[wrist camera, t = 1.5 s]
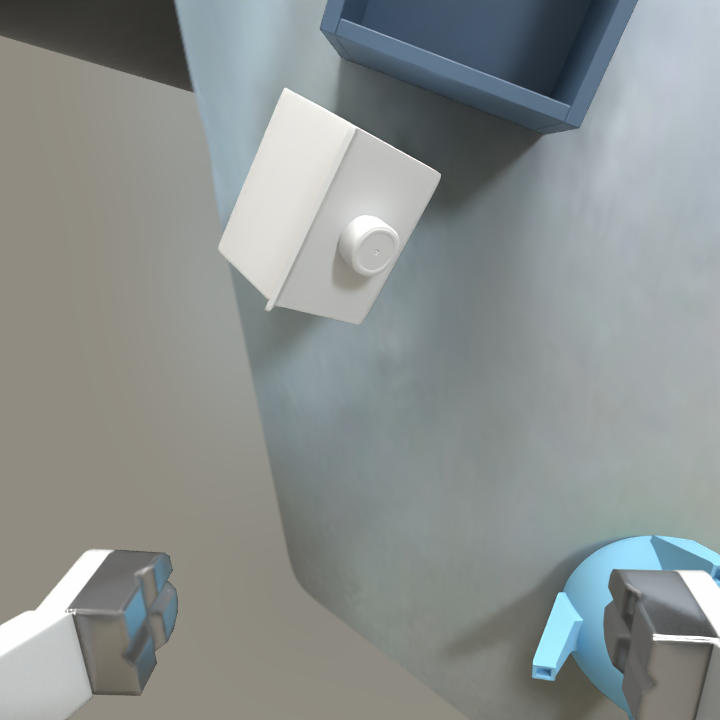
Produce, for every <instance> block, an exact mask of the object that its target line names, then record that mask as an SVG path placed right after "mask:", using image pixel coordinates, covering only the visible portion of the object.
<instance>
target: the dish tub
mask: <svg viewBox="0 0 720 720" xmlns="http://www.w3.org/2000/svg"><path fill="white" fill-rule="evenodd" d="M637 1H638V0H328V1H327V5H326V8H325V12H324V16H323V19H322V23H321V26H320V30H321V31H322V33H323V34H324V35H325V37H326V38H327V39H328V41H329V42H330V43H331V45H332V46H333V47H334V49H335V50H336V51H337V52H338V54H339V55H340V56H341V58H344V59H347V60H349V61H352V62H355V63H357V64H360V65H362V66H365V67H368V68H370V69H373V70H376V71H378V72H381V73H383V74H386V75H389V76H391V77H394V78H397V79H399V80H402V81H404V82H407V83H410V84H412V85H415V86H418V87H420V88H423V89H425V90H428V91H431V92H433V93H436V94H439V95H441V96H444V97H447V98H449V99H452V100H454V101H457V102H460V103H462V104H465V105H468V106H470V107H473V108H475V109H478V110H481V111H483V112H486V113H489V114H491V115H494V116H496V117H499V118H502V119H504V120H507V121H510V122H512V123H515V124H517V125H520V126H523V127H525V128H528V129H531V130H533V131H536V132H538V133H541V134H551V133H556V132H562V131H567V130H572V129H578V128H580V126H581V123H582V121H583V119H584V117H585V115H586V113H587V110H588V108H589V106H590V104H591V102H592V99H593V97H594V95H595V93H596V91H597V88H598V86H599V84H600V82H601V80H602V78H603V75H604V73H605V71H606V69H607V67H608V64H609V62H610V60H611V58H612V56H613V54H614V51H615V49H616V47H617V45H618V43H619V40H620V38H621V36H622V34H623V32H624V29H625V27H626V25H627V23H628V21H629V19H630V16H631V14H632V12H633V10H634V8H635V5H636V3H637Z"/></svg>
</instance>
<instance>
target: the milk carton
mask: <svg viewBox="0 0 720 720" xmlns="http://www.w3.org/2000/svg"><path fill="white" fill-rule="evenodd" d="M440 178H441V174H440V173H438V172H437V171H435V170H434V169H432V168H431V167H429V166H427V165H425V164H424V163H422V162H420V161H418V160H416V159H415V158H413V157H411V156H409V155H407V154H406V153H404V152H402V151H400V150H398V149H397V148H395V147H393V146H391V145H389V144H388V143H386V142H384V141H382V140H380V139H379V138H377V137H375V136H373V135H371V134H370V133H368V132H366V131H364V130H362V129H361V128H359V127H357V126H355V125H353V124H352V123H350V122H348V121H346V120H344V119H343V118H341V117H339V116H337V115H335V114H333V113H332V112H330V111H328V110H326V109H324V108H322V107H320V106H319V105H317V104H315V103H313V102H311V101H309V100H307V99H306V98H304V97H302V96H300V95H298V94H296V93H294V92H292V91H291V90H289V89H287V88H285V89H284V90H283V92H282V94H281V96H280V99H279V101H278V103H277V106H276V108H275V111H274V113H273V115H272V118H271V120H270V123H269V125H268V127H267V130H266V132H265V135H264V137H263V139H262V142H261V144H260V147H259V149H258V151H257V154H256V156H255V159H254V161H253V163H252V166H251V168H250V171H249V173H248V176H247V178H246V180H245V183H244V185H243V188H242V190H241V192H240V195H239V197H238V200H237V202H236V204H235V207H234V209H233V212H232V214H231V216H230V219H229V221H228V224H227V226H226V229H225V231H224V233H223V236H222V238H221V241H220V244H219V246H218V251H219V252H220V253H221V254H222V255H223V256H224V257H225V258H226V259H227V260H228V261H229V262H230V263H231V264H232V265H233V266H234V267H235V268H236V269H237V270H238V271H239V272H240V273H241V274H242V275H243V276H244V277H245V278H246V279H247V280H248V281H249V282H250V283H251V284H252V285H253V286H254V287H255V288H256V289H258V290H259V291H260V292H261V293H262V294H263V295H264V296H265V297H266V298H267V299H268V300H269V301H268V303H267V305H266V308H265V310H266V311H268V312H270V311H271V310H272V308H273V307H274V306H279V307H284V308H288V309H292V310H297V311H301V312H305V313H310V314H314V315H318V316H323V317H327V318H331V319H336V320H340V321H344V322H348V323H353V324H358V325H359V324H361V323H362V322H363V320H364V319H365V318H366V316H367V314H368V313H369V311H370V309H371V307H372V306H373V304H374V302H375V300H376V298H377V296H378V295H379V293H380V291H381V289H382V287H383V285H384V284H385V282H386V280H387V278H388V276H389V274H390V273H391V271H392V269H393V267H394V265H395V263H396V262H397V260H398V258H399V256H400V254H401V252H402V251H403V249H404V247H405V245H406V243H407V241H408V239H409V238H410V236H411V234H412V232H413V230H414V228H415V227H416V225H417V223H418V221H419V219H420V217H421V216H422V214H423V212H424V210H425V208H426V206H427V204H428V203H429V201H430V199H431V197H432V195H433V193H434V191H435V189H436V187H437V185H438V183H439V181H440Z"/></svg>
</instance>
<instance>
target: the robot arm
mask: <svg viewBox="0 0 720 720" xmlns="http://www.w3.org/2000/svg"><path fill="white" fill-rule="evenodd" d="M172 571H173V569H172V564H171V560H170V556H169V555H167V554H165V553H161V552H159V553H158V552H144V551H143V552H142V551H127V550H103V549H90V550H88V551H86V552H84V553H83V554H82V556H81V557H80V558H79V559H78V560H77V561H76V563H75V564H74V565H73V566H72V567H71V568H70V570H69V571H68V572H67V573H66V575H65V576H64V577H63V578H62V579H61V581H60V582H59V583H58V584H57V585H56V586H55V588H54V589H53V590H52V591H51V592H50V594H49V595H48V596H47V597H46V598H45V600H44V601H43V602H42V603H41V604H40V606H39V607H38V608H37V609H36V610H35V611H26V612H24V613H22V614H20V615H18V616H16V617H15V618H13V619H11V620H9V621H7V622H5V623H4V624H2V625H0V720H68V719H69V718H70V717H71V716H72V715H73V714H74V713H76V712H77V711H78V710H79V709H80V708H81V707H83V706H84V705H85V704H86V703H87V702H88V701H89V700H91V698H93V694H96V695H97V694H98V695H99V694H100V695H131V696H140V695H141V693H142V691H143V689H144V687H145V685H146V683H147V681H148V679H149V678H150V676H151V674H152V672H153V670H154V668H155V666H156V664H157V661H156V656H155V651H156V650H158V649H159V648H160V647H162V646H163V645H165V644H166V643H167V642H168V640H169V638H170V636H171V634H172V632H173V630H174V626H175V622H176V617H177V613H178V598H177V592H176V589H175V588H174V587H173V586H172V585H171V583H170V582H169V581H168V578H169V576H170V574H171V573H172ZM608 589H609V591H610V593H611V595H612V598H613V600H612V601H611V602H610V603H609V604H608V605H607V606H606V607H605V610H604V619H603V628H604V640H605V644H606V648H607V652H608V655H609V657H610V660H611V663H612V665H613V666H614V667H615V668H616V669H617V670H619V671H620V672H621V673H622V674H623V675H624V677H623V683H622V691H623V693H624V696H625V698H626V701H627V703H628V706H629V708H630V711H631V713H632V716H633V718H634V720H720V588H719V587H718V585H717V584H716V583H715V581H714V580H713V579H712V577H711V576H710V575H709V574H708V573H707V572H705V571H703V570H672V571H669V570H636V569H613V570H612V572H611V574H610V577H609V583H608Z"/></svg>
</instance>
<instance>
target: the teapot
mask: <svg viewBox="0 0 720 720" xmlns="http://www.w3.org/2000/svg"><path fill="white" fill-rule="evenodd" d="M613 569H636V570H669V571H672V570H703V571H705V572H707V573H708V574H709V575H710V576H711V577H712V579H713V580H714V581H715V583H716V584H717V585H718V587H719V588H720V555H718V554H717V553H715V552H713V551H712V550H710V549H708V548H706V547H704V546H702V545H700V544H698V543H697V542H695V541H694V540H686V539H681V538H675V537H668V536H656V535H653V536H638V537H632V538H626V539H623V540H619V541H616V542H613V543H611V544H609V545H606V546H604V547H602V548H601V549H599V550H597V551H596V552H594V553H593V554H591V555H590V556H589V557H587V558H586V559H585V560H584V561H583V562H582V563H581V564H580V565H579V566H578V567H577V568H576V569H575V571H574V572H573V573H572V574H571V576H570V577H569V579H568V580H567V582H566V584H565V587H564V589H563V591H562V592H561V593H558V595H557V598H556V600H555V603H554V606H553V609H552V611H551V614H550V617H549V619H548V622H547V625H546V627H545V630H544V633H543V635H542V638H541V641H540V644H539V646H538V649H537V652H536V654H535V657H534V660H533V665H532V678H538V679H545V680H552V681H555V676H556V674H557V673H558V671H559V670H560V668H561V667H562V665H563V663H564V662H565V660H566V659H567V657H568V656H569V654H570V652H571V654H572V656H573V658H574V659H575V661H576V662H577V664H578V665H579V667H580V668H581V670H582V671H583V673H584V674H585V675H586V676H587V677H588V678H589V679H590V681H591V682H592V683H593V684H594V685H595V686H596V687H597V688H598V689H599V690H600V691H601V692H602V693H603V694H604V695H606V696H607V697H608V698H609V699H610V700H611V701H613V702H614V703H615V704H617V705H618V706H619V707H620V708H622V709H623V710H624V711H626V712H627V714H628V717H629V719H630V720H634V718H633V716H632V713H631V711H630V708H629V706H628V703H627V701H626V698H625V696H624V693H623V691H622V683H623V677H624V675H623V674H622V673H621V672H620V671H619V670H617V669H616V668H615V667H614V666H613V665H612V663H611V660H610V657H609V655H608V652H607V648H606V644H605V640H604V628H603V619H604V610H605V607H606V606H607V605H608V604H609V603H610V602H611V601H612V600H613V598H612V595H611V593H610V591H609V589H608V583H609V577H610V574H611V572H612V570H613Z"/></svg>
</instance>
